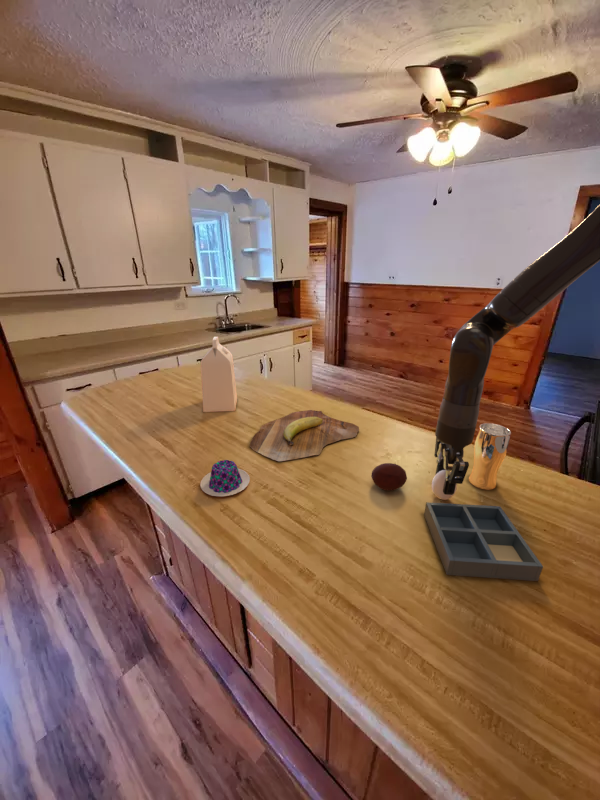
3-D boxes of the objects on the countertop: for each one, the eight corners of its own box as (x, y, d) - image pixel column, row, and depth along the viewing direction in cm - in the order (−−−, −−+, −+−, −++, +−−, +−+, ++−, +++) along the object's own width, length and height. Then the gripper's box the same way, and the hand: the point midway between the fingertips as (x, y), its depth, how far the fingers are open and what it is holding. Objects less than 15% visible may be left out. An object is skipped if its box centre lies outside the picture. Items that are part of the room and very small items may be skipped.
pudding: (190, 491, 80) (187, 473, 78) (219, 466, 91) (217, 449, 89) (233, 504, 76) (231, 485, 74) (258, 475, 87) (257, 458, 85)
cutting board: (308, 407, 129) (308, 397, 127) (368, 430, 111) (369, 419, 109) (232, 438, 105) (231, 427, 104) (293, 473, 88) (293, 460, 86)
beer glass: (503, 484, 84) (517, 431, 78) (488, 494, 80) (502, 439, 74) (476, 471, 89) (488, 420, 83) (461, 480, 85) (472, 427, 80)
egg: (458, 502, 77) (464, 475, 74) (439, 507, 76) (444, 479, 73) (443, 489, 82) (448, 463, 79) (424, 492, 80) (429, 466, 78)
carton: (496, 519, 72) (500, 506, 71) (538, 581, 58) (543, 566, 57) (423, 514, 73) (426, 502, 72) (446, 574, 59) (450, 560, 58)
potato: (403, 500, 78) (407, 478, 76) (368, 492, 81) (370, 471, 78) (406, 482, 84) (409, 461, 82) (373, 475, 87) (375, 455, 85)
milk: (208, 399, 135) (201, 335, 125) (237, 398, 136) (232, 334, 126) (203, 411, 124) (195, 342, 114) (235, 410, 125) (230, 341, 115)
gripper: (490, 436, 64) (472, 507, 71) (462, 406, 78) (450, 469, 84) (450, 434, 65) (436, 505, 71) (429, 405, 78) (419, 467, 84)
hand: (443, 485), depth 78 cm, fingers closed on egg, 5 cm apart
